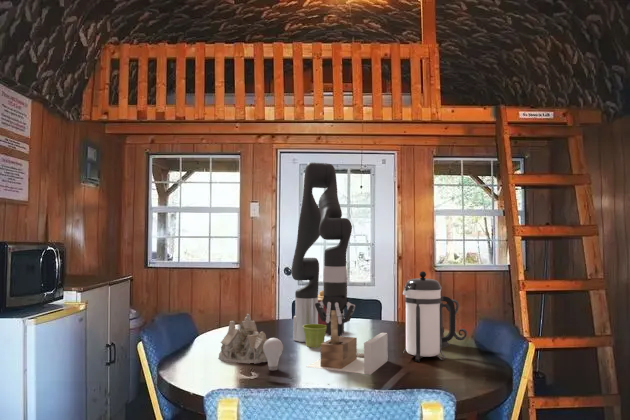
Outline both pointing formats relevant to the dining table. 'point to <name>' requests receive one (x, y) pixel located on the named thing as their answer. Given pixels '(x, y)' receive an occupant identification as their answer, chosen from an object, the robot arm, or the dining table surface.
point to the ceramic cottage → (243, 343)
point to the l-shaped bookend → (365, 357)
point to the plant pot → (314, 334)
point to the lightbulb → (273, 352)
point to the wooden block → (360, 355)
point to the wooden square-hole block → (339, 353)
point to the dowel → (334, 328)
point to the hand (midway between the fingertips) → (335, 334)
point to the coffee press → (425, 317)
